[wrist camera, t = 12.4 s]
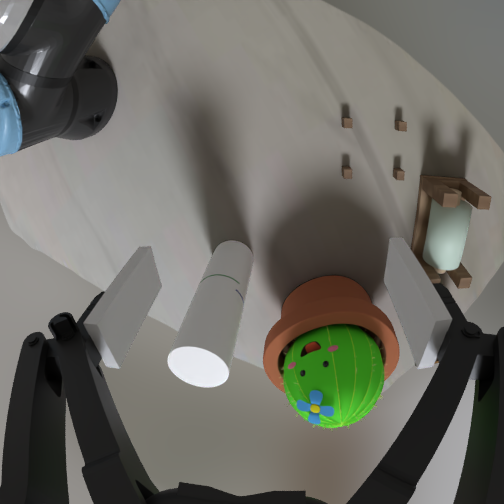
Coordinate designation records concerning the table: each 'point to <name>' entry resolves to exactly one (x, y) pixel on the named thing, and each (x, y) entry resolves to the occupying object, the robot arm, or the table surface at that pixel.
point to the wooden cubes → (397, 172)
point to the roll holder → (446, 198)
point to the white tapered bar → (213, 318)
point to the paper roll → (446, 234)
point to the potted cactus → (331, 351)
